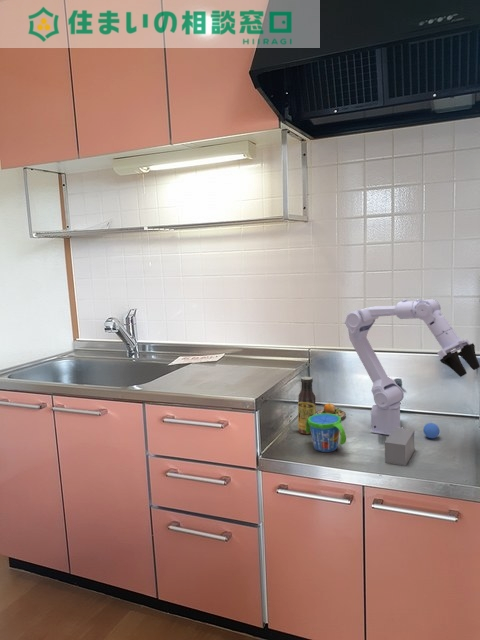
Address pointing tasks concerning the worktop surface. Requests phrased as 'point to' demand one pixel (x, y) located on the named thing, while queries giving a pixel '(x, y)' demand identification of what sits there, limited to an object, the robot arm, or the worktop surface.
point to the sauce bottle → (305, 403)
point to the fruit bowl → (332, 411)
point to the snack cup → (325, 431)
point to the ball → (431, 430)
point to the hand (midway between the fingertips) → (470, 371)
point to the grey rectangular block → (399, 446)
